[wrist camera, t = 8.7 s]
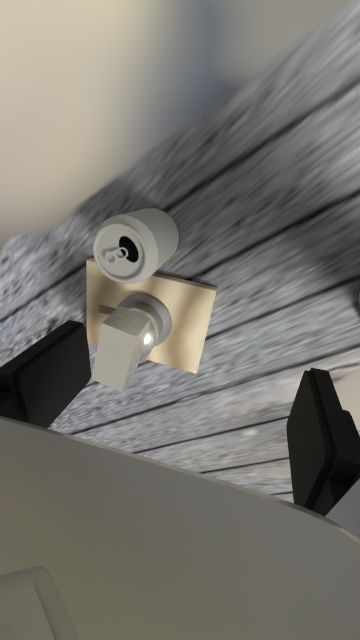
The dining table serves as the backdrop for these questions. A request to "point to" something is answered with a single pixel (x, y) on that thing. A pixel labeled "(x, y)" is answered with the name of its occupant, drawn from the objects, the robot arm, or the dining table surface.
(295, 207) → the dining table surface
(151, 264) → the can
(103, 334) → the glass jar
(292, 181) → the dining table surface
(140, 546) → the robot arm
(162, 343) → the base plate
